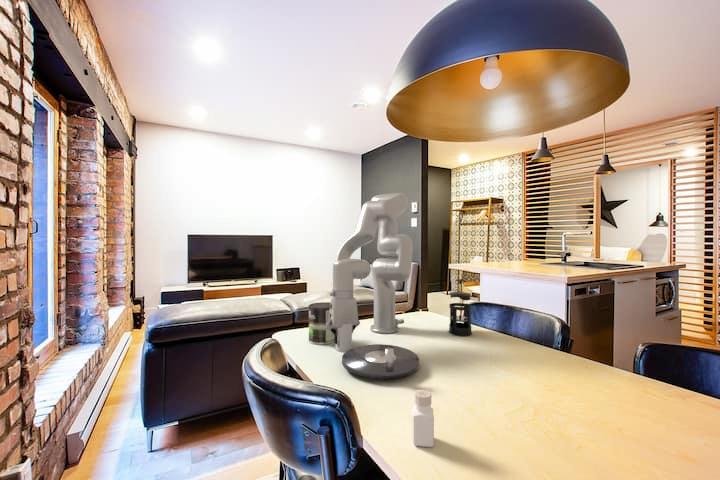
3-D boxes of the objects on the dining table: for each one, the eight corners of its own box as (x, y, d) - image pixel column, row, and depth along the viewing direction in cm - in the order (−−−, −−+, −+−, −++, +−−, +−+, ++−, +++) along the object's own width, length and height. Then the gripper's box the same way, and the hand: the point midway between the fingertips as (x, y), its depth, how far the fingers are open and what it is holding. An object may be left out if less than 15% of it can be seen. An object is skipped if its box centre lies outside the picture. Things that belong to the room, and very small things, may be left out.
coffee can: (312, 346, 118) (312, 308, 118) (305, 338, 127) (305, 303, 127) (338, 342, 122) (338, 306, 122) (329, 335, 132) (329, 301, 132)
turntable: (338, 354, 109) (338, 329, 109) (404, 350, 113) (404, 325, 113) (348, 386, 85) (348, 353, 85) (431, 379, 90) (431, 348, 90)
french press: (463, 338, 128) (463, 281, 128) (443, 333, 135) (443, 279, 135) (478, 332, 136) (478, 279, 136) (458, 327, 143) (458, 277, 143)
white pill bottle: (432, 436, 64) (432, 389, 64) (434, 449, 60) (434, 399, 60) (412, 434, 65) (412, 388, 65) (412, 447, 61) (412, 397, 61)
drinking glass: (354, 346, 117) (354, 320, 117) (349, 353, 111) (349, 324, 111) (338, 345, 119) (338, 318, 119) (331, 351, 113) (331, 323, 113)
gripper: (326, 298, 108) (326, 351, 108) (367, 294, 116) (367, 343, 116) (317, 294, 114) (317, 345, 114) (357, 291, 122) (357, 338, 122)
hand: (343, 344), depth 115 cm, fingers closed on drinking glass, 3 cm apart
